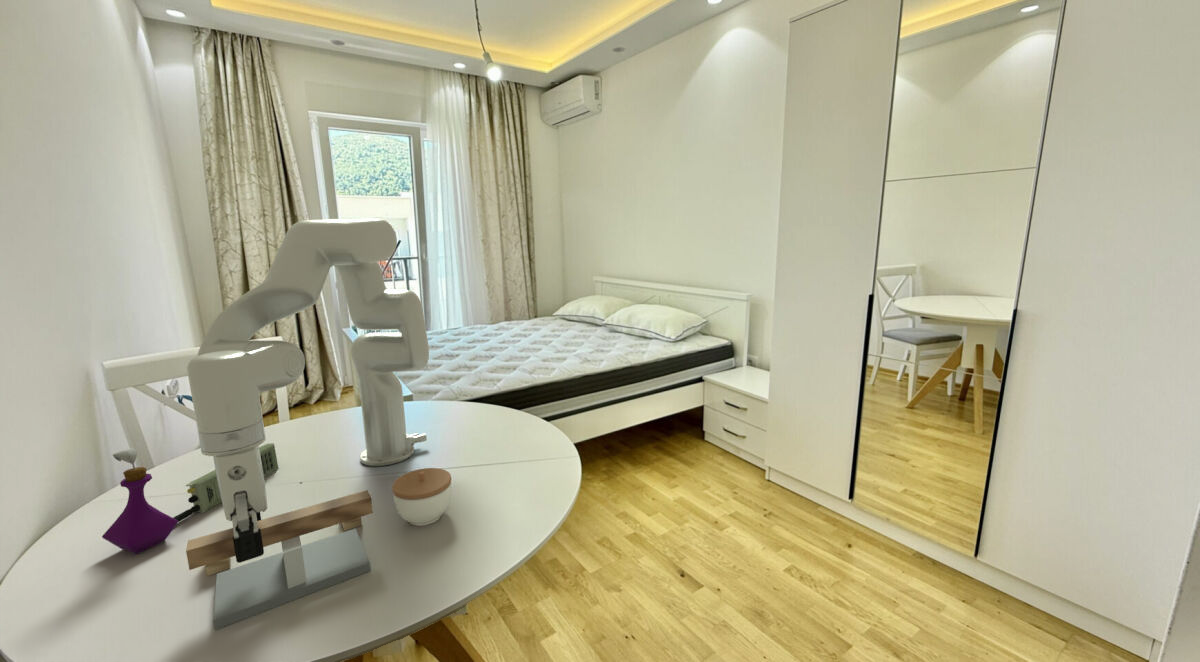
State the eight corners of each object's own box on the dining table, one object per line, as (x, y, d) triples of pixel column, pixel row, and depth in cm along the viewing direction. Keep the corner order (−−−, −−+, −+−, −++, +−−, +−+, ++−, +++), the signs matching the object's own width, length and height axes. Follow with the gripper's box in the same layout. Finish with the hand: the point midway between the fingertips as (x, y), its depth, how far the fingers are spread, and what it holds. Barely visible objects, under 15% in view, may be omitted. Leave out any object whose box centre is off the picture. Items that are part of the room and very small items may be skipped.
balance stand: (356, 535, 88) (352, 498, 86) (370, 570, 78) (366, 529, 77) (218, 582, 76) (210, 539, 74) (215, 629, 66) (206, 582, 65)
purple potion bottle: (181, 537, 88) (164, 445, 85) (131, 562, 81) (110, 463, 78) (155, 529, 90) (138, 440, 87) (104, 553, 83) (83, 457, 80)
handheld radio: (281, 469, 115) (178, 530, 90) (269, 469, 115) (163, 529, 91) (276, 443, 114) (171, 497, 89) (264, 443, 114) (156, 497, 90)
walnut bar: (369, 505, 84) (367, 489, 83) (372, 513, 81) (371, 497, 81) (191, 559, 70) (187, 540, 69) (189, 570, 67) (186, 551, 67)
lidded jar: (398, 539, 86) (393, 491, 85) (393, 510, 96) (389, 467, 94) (458, 523, 91) (455, 477, 89) (448, 497, 101) (445, 455, 99)
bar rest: (356, 513, 95) (354, 495, 94) (362, 525, 91) (359, 506, 90) (208, 559, 81) (205, 538, 81) (207, 575, 77) (203, 553, 77)
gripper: (267, 448, 65) (283, 561, 68) (262, 413, 78) (276, 508, 82) (195, 464, 60) (216, 584, 63) (203, 424, 74) (220, 524, 77)
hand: (250, 541), depth 73 cm, fingers open, 9 cm apart
